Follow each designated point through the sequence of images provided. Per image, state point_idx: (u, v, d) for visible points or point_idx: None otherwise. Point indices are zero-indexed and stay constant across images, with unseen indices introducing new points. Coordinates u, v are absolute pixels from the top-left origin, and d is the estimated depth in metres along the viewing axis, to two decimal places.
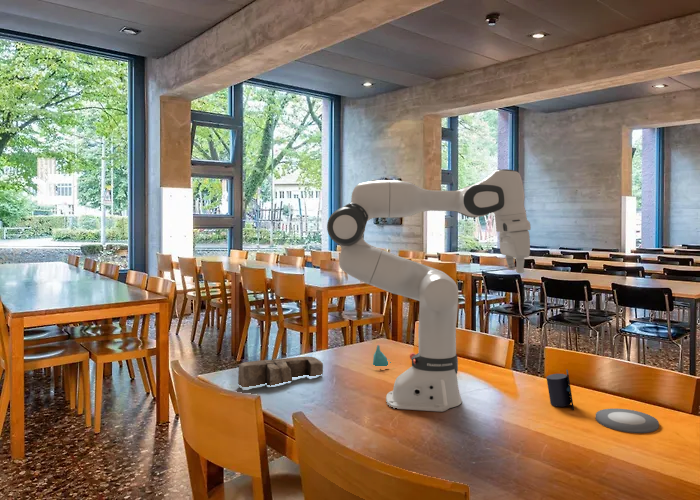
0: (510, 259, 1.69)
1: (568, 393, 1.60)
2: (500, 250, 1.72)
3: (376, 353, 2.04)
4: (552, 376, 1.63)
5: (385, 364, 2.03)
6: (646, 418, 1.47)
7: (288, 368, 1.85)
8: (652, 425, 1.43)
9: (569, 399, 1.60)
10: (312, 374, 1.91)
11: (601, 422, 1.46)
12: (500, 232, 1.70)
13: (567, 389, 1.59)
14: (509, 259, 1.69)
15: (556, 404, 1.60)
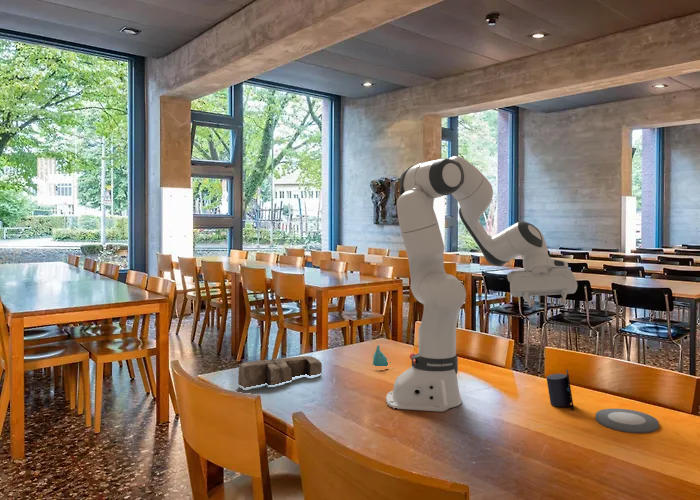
0: None
1: (568, 393, 1.60)
2: (515, 287, 1.76)
3: (376, 353, 2.04)
4: (552, 376, 1.63)
5: (385, 364, 2.03)
6: (646, 418, 1.47)
7: (288, 368, 1.86)
8: (652, 425, 1.43)
9: (569, 399, 1.60)
10: (311, 373, 1.92)
11: (601, 422, 1.46)
12: (518, 273, 1.79)
13: (567, 389, 1.59)
14: None
15: (556, 404, 1.60)
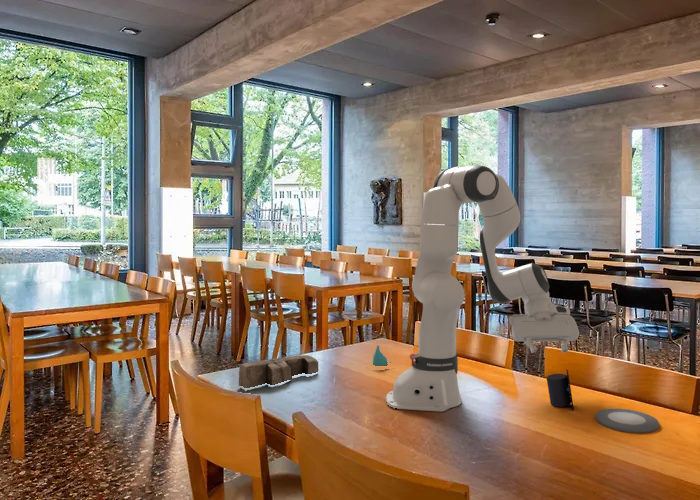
0: None
1: (568, 393, 1.60)
2: (517, 332, 1.74)
3: (376, 353, 2.04)
4: (552, 376, 1.63)
5: (385, 364, 2.03)
6: (646, 418, 1.47)
7: (288, 367, 1.87)
8: (652, 425, 1.43)
9: (569, 399, 1.60)
10: (309, 372, 1.93)
11: (601, 422, 1.46)
12: (521, 317, 1.77)
13: (567, 389, 1.59)
14: None
15: (556, 404, 1.60)
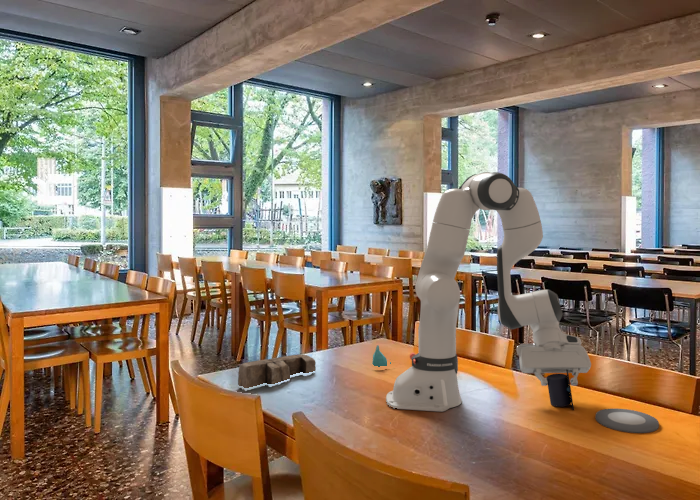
0: None
1: (568, 393, 1.60)
2: (525, 363, 1.64)
3: (375, 353, 2.04)
4: (552, 376, 1.63)
5: (384, 364, 2.03)
6: (646, 418, 1.47)
7: (287, 366, 1.88)
8: (652, 425, 1.43)
9: (569, 399, 1.60)
10: (307, 371, 1.95)
11: (601, 422, 1.46)
12: (529, 347, 1.68)
13: (567, 389, 1.59)
14: None
15: (556, 404, 1.60)
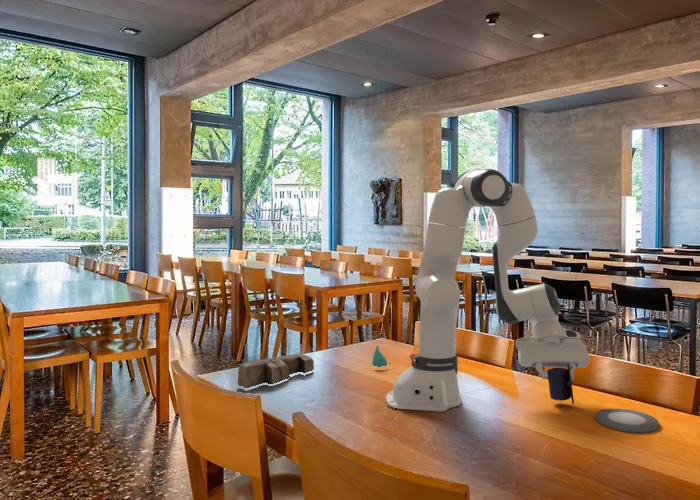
0: None
1: (568, 387, 1.60)
2: (524, 357, 1.64)
3: (375, 353, 2.04)
4: (553, 370, 1.63)
5: (384, 364, 2.03)
6: (646, 418, 1.47)
7: (286, 366, 1.88)
8: (652, 425, 1.43)
9: (569, 393, 1.60)
10: (306, 371, 1.95)
11: (601, 422, 1.46)
12: (528, 341, 1.68)
13: (568, 383, 1.59)
14: None
15: (556, 398, 1.60)
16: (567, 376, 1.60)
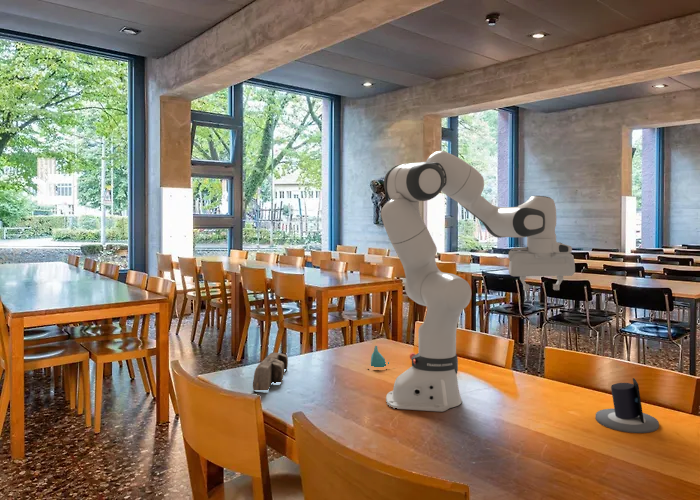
0: (523, 280, 1.79)
1: (636, 404, 1.47)
2: (514, 272, 1.77)
3: (374, 354, 2.03)
4: (617, 385, 1.49)
5: (383, 365, 2.03)
6: (646, 418, 1.47)
7: (283, 363, 1.92)
8: (652, 425, 1.43)
9: (637, 411, 1.47)
10: (286, 366, 2.01)
11: (601, 422, 1.46)
12: (521, 254, 1.76)
13: (635, 400, 1.46)
14: (523, 280, 1.78)
15: (623, 416, 1.47)
16: (634, 392, 1.47)
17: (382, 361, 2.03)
